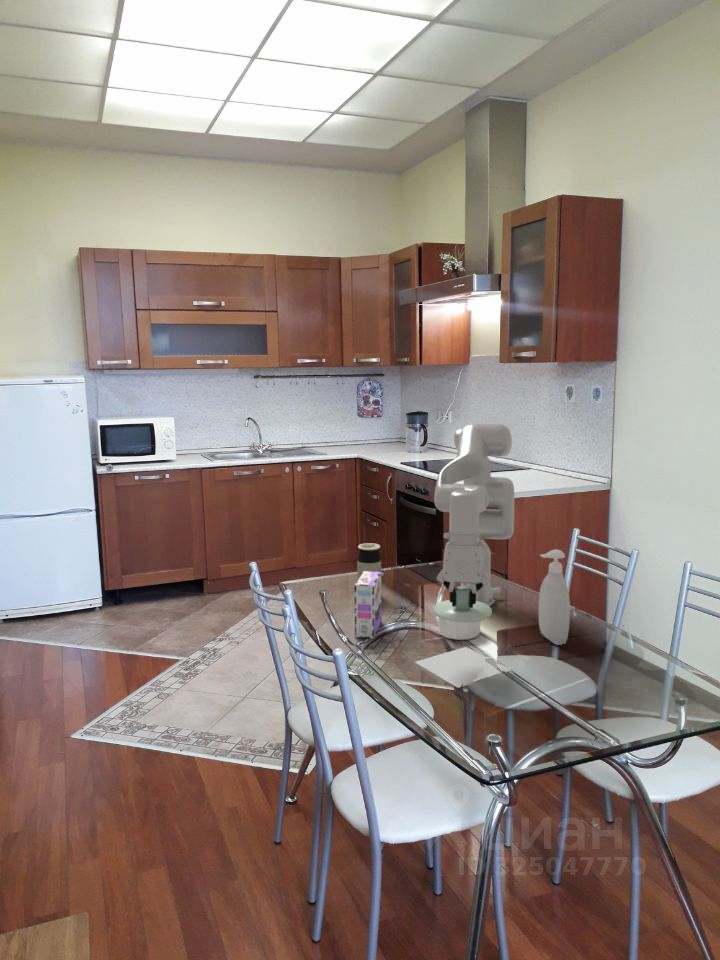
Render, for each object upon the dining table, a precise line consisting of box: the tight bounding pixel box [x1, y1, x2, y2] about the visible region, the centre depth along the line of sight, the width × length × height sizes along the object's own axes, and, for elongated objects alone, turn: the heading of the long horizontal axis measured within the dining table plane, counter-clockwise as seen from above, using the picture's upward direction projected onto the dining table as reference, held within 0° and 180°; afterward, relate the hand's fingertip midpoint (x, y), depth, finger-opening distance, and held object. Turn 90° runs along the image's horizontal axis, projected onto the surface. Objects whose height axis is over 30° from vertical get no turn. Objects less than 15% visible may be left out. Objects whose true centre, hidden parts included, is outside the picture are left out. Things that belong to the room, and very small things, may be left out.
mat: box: [414, 646, 512, 689], centre depth 195 cm, size 18×18×1 cm
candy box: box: [354, 571, 383, 639], centre depth 220 cm, size 14×6×16 cm, turn 168°
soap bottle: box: [537, 548, 571, 646], centre depth 210 cm, size 14×8×27 cm, turn 14°
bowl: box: [437, 616, 481, 641], centre depth 217 cm, size 12×12×6 cm
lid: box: [433, 585, 493, 623], centre depth 193 cm, size 15×15×6 cm
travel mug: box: [356, 542, 382, 580], centre depth 249 cm, size 8×8×18 cm
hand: (462, 604), depth 194 cm, fingers closed on lid, 4 cm apart
